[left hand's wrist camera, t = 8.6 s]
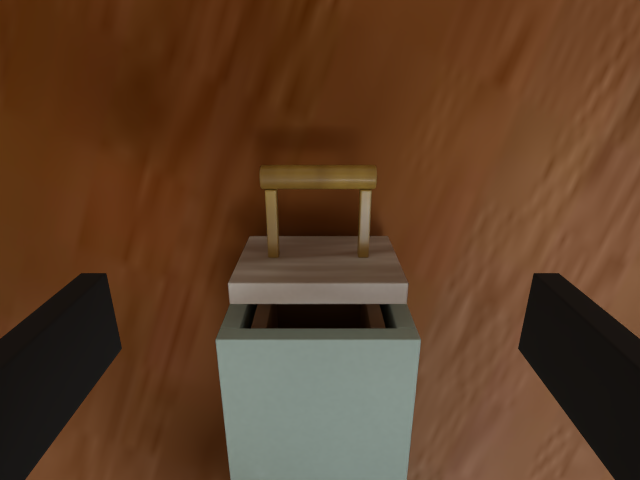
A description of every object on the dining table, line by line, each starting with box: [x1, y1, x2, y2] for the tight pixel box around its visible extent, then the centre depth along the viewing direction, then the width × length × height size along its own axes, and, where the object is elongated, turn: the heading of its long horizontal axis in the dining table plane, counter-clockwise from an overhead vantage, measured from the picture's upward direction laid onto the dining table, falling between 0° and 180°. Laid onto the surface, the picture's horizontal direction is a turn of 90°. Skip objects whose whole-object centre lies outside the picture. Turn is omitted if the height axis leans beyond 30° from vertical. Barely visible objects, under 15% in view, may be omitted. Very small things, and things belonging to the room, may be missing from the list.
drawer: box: [228, 165, 408, 329], centre depth 26 cm, size 25×9×7 cm, turn 0°
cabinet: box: [216, 303, 421, 480], centre depth 28 cm, size 21×10×9 cm, turn 0°
